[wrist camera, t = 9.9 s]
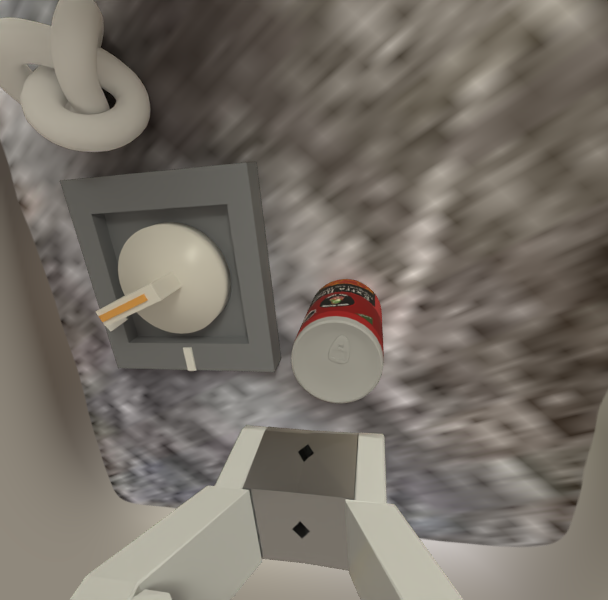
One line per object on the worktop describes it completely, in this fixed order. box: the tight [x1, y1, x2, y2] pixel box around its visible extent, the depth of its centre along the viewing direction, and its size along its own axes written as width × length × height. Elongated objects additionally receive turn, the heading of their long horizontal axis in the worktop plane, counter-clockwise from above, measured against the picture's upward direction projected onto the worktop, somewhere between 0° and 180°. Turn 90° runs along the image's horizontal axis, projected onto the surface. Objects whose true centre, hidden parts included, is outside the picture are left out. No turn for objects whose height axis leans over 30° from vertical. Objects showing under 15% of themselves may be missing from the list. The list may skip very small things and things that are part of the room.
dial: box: [96, 222, 231, 334], centre depth 37 cm, size 12×12×6 cm
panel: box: [60, 162, 281, 372], centre depth 40 cm, size 22×20×3 cm
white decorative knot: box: [0, 0, 151, 152], centre depth 32 cm, size 11×12×9 cm
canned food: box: [291, 279, 384, 403], centre depth 34 cm, size 8×8×11 cm
